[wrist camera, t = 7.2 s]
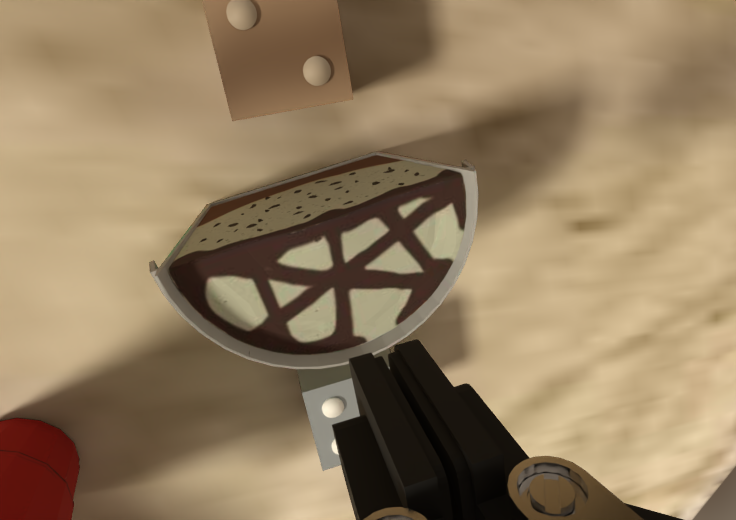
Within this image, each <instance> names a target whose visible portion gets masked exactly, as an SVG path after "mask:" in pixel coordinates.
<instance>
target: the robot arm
mask: <svg viewBox="0 0 736 520" xmlns="http://www.w3.org/2000/svg"><path fill="white" fill-rule="evenodd" d="M394 350H395V352H393V353H390V354H388V361H389V367H390V369H389V368H388V366H387V364H386V362H385V360H384V359H383V357H382V356H379V357H376V358H374V356H373V354H372V353H371V352H370V353H367V354H363V355H360V356H356V357H353V358H349V366H350V371H351V376H352V381H353V386H354V390H355V395H356V400H357V405H358V409H359V414H360V416H358V417H355V418H352V419H349V420H345V421H342V422H339V423H336V424H332V428H333V433H334V437H335V441H336V445H337V450H338V454H339V458H340V462H341V466H342V470H343V474H344V477H345V481H346V485H347V489H348V492H349V496H350V499H351V503H352V507H353V510H354V514H355V517H356V520H683V519H679V518H676V517H672V516H669V515H665V514H661V513H658V512H654V511H651V510H647V509H643V508H640V507H636V506H633V505H629V504H626V503H623V502H622V501H621V500H620V499H619V498H617V497H616V496H615V495H614V494H613V493H611V492H610V491H609V490H608V489H607V488H605V487H604V486H603V485H602V484H601V483H599V482H598V481H597V480H596V479H595V478H593V477H592V476H591V475H590V474H589V473H588V472H586V471H585V470H584V469H582V468H581V467H579V466H578V465H576V464H575V463H573V462H570V461H567V460H565V459H562V458H558V457H551V456H538V457H532V458H529V457H528V456H527V454H526V453H525V452H524V451H523V450H522V448H521V447H520V446H519V445H518V443H517V442H516V441H515V440H514V438H513V437H512V436H511V435H510V433H509V432H508V431H507V430H506V428H505V427H504V426H503V425H502V424H501V422H500V421H499V420H498V419H497V417H496V416H495V415H494V414H493V412H492V411H491V410H490V409H489V407H488V406H487V405H486V404H485V403H484V401H483V400H482V399H481V398H480V396H479V395H478V394H477V393H476V391H475V390H474V389H473V388H472V387H471V386H470V385H469V384H463V385H459V386H456V387H453V386H452V384H451V383H450V382H449V380H448V379H447V377H446V376H445V375H444V373H443V372H442V371H441V369H440V368H439V367H438V365H437V364H436V363H435V361H434V360H433V359H432V357H431V356H430V355H429V353H428V352H427V351H426V349H425V348H424V347H423V345H422V344H421V343H420V341H419V340H417V339H416V340H413V341H409V342H406V343H402V344H399V345H395V347H394Z"/></svg>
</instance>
